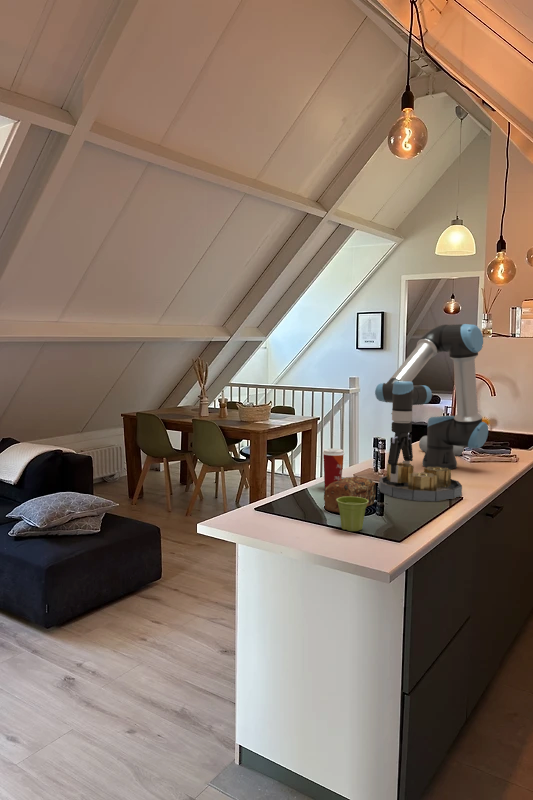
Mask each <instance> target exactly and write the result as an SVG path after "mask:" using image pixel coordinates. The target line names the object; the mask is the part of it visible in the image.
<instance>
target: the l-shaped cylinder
mask: <svg viewBox="0 0 533 800" xmlns="http://www.w3.org/2000/svg"><path fill="white" fill-rule="evenodd" d="M418 446H419V449H420V450H421V451H422V452H423V453H424V452H425V453H426V450H427V435H423V436H422V437H421V438H420V439H419V443H418ZM464 448H465V447H461V446H454V447H453V451H454V454H455V457H461V456H460V455H461V454H462V452H463V451H464V450H465V449H464ZM464 452H465V451H464ZM464 452H463V453H464Z"/></svg>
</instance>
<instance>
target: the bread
mask: <svg viewBox="0 0 533 800" xmlns="http://www.w3.org/2000/svg"><path fill="white" fill-rule="evenodd" d="M376 485H377V484H376V483H375V481H373V480H372V479H369V478H366V477H362V476H348V477H343V478H342V479H341V480H338V481H336V482H333V483H331V484H329V486H327V487H326V489H325V488H324V490H323V491H324V492H323V501H324V509H325V510H327V511H329V512H334V513H338V514H340V510H339V506H338V502H337V501H336V499H337V498H340V497H361V498H365V499H367V500H368V501H369V502H368V503H367V506H366V508H367V507H369V506H372V505H373V504H374V503H375V499H376V498H375V497H376V491H377V490H376V489H377V486H376Z"/></svg>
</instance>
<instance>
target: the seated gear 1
mask: <svg viewBox="0 0 533 800" xmlns="http://www.w3.org/2000/svg"><path fill="white" fill-rule="evenodd" d="M420 475H424V476H420ZM436 488H437V475H434V474H433V473H424V471H421V472H415V471H414V472H412V474H409V478H408V489H411V490H428V491H436Z"/></svg>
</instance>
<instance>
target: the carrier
mask: <svg viewBox="0 0 533 800" xmlns="http://www.w3.org/2000/svg"><path fill="white" fill-rule="evenodd" d="M420 476H424V475H420ZM378 487H379V492H380V493H381V494H384V495H387V496H389V497H391V498H395V499H396V498H397V499H400V500H401V499H403V500H406V501H407V500H409V501H414V502H416V501H417V502H418V501H419V502H440V501H439V500H445V499H453V498H456V497H458V498H460V497H462V494H463V485H462V484H461V483H460V482H459V480H456V479H453V478H451V486H448V487H437V488H436V491H428V490H411V489H408V483H398V482H397V483H396V482H390V481H389V480H387V475H384V476H381V477H379V482H378ZM456 499H457V498H456Z"/></svg>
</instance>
